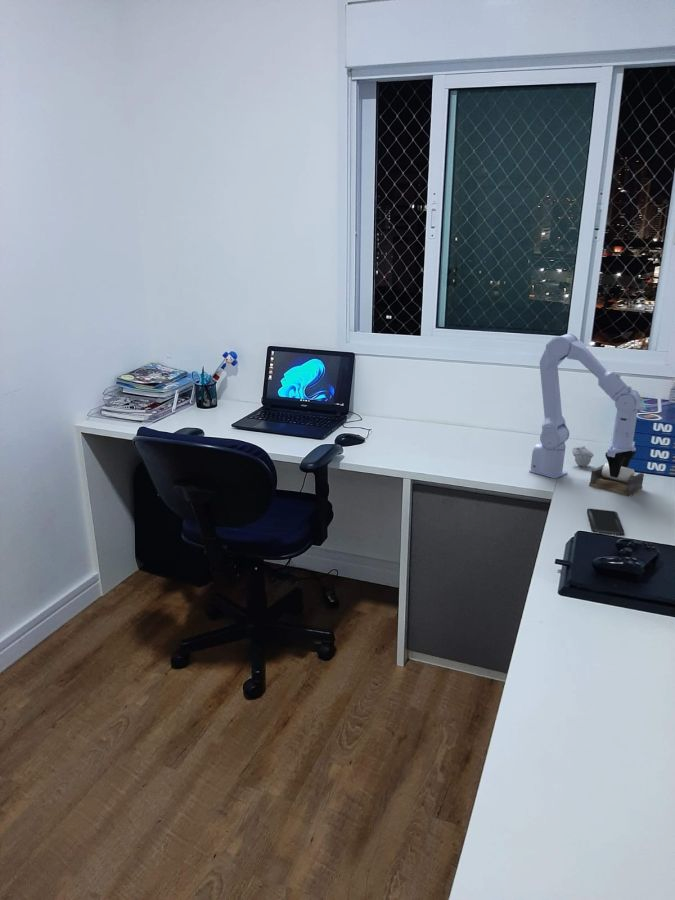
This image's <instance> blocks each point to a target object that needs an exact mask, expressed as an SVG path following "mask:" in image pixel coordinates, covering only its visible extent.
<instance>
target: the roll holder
mask: <svg viewBox="0 0 675 900" xmlns="http://www.w3.org/2000/svg"><path fill="white" fill-rule="evenodd" d="M604 465H605V464H602V465H600V466H598V467H596V468H594V469H592V470H591V474H590V480H589V481H590V482H589V483H588V485H589V487H592V488H597V489H600V490H603V489H604V491H607V492H612V493H615V494H618V493H619V494H618V495H622V494H623V495H622V496H625V495H626V497H629V496H630V497H632V496H633V495H635V494H637V493H638V491H639V490H640V491H642V490H643V481H644V476H645V475H644V474H645V473H642V472H640V473H638V474H635V475H634V477H632V478H630V479H628V483H625V482H622V481H618V480H614V479H610V478H606V477H603V476H602V469H603V466H604ZM641 489H642V490H641ZM640 491H639V492H640ZM636 492H637V493H636ZM634 493H635V494H634ZM631 495H632V496H631Z"/></svg>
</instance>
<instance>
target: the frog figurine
mask: <svg viewBox="0 0 675 900" xmlns="http://www.w3.org/2000/svg"><path fill="white" fill-rule="evenodd" d="M571 452H572V455H573V457H574V462H575V464H576V465H578V466H579V467H582V466H584V467H587V466H588V465H590V463H591V460H592V459H593V457H594V452H592V451H591V450H589V449H588V448H587V447H586V446H585V445H582V444H578V445H577V446H574V447H572V451H571Z"/></svg>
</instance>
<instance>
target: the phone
mask: <svg viewBox="0 0 675 900" xmlns="http://www.w3.org/2000/svg"><path fill="white" fill-rule="evenodd" d="M586 515H587V519H588V518H589V519H588V523H589V522H590V523H589V527H590V530H591V532H592V533H595V532H599V533H598V534H603V533H604V535H612V534H614V535H613V536H624V535H625V530H624V526H623V525H622V522H621V519H620V516H619V513H618V512H617V511H614V510H607V509H606V510H605V509H597V508H587V509H586ZM615 534H616V535H615Z"/></svg>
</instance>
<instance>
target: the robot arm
mask: <svg viewBox="0 0 675 900" xmlns="http://www.w3.org/2000/svg"><path fill="white" fill-rule="evenodd" d="M565 359H568V360H574V361H578V362H579V363H580V364H582V365H583V366H584V367H585V368H586V369H587V370H588V371H589V372H590V373H591V374H593V376H595V377H596V379H598V380H597V383H598V384H597V385H598V386H599V387H600V388H601V390H603V392H604V393H605V394H606V395H607V397H609V398H610V399H611V400H612V401H614V406H615V408H616V413H615V419H614V424H613V425H614V427H613V433H612V438H611V444H610V445H609V448H608V449H607V452H605V458H606V461H607V463H608V464H609V471H610V476H612V477H616V478H617V477H618V475H619V473H620V469H621V466H622V467H626V468H629V465H630V463H631V460H632V459H633V458H634V456H635V455H636V451H637V448H636V447H635V446H636V445H635V444H636V441H634V437H635V433H636V432H635V430H636V425H637V420H638V419H637V415H638V407H639V406H640V405H641V403H642V397H641V394H639V391H637V390H635V389H633V387H632V386H630V385H627V384H626V382H624V380H623V379H622V378H621V376H622V375H621V374H620V373H619V372H617V373H616V372H615V371H608V370H607V369H606V368H605V367H604V365H602V363H601V362H600V361H599V360H598V359H597V357H596V356H594V354H593V353H592V352H591V351H590V350H589V349H588V348H587V346H586V345H585V344H584V342H583V341H581V340H580V339H578V337H577V336H576V335H575V334H573V333H566V334H563V335H560V336H559V335H557V336H554V337H552V339H551V340H549V342H547V343H546V344H545V349H544V351H543V354H542V355H541V358H540V360H539V371H540V373H539V374H540V383H541V384H540V385H541V394H542V404H543V413H544V414H543V415H544V419H543V422H542V425H541V433H540V436H539V441H540V443H537V444H535V445H534V447H533V449H532V453H531V461H530V469H529V472H530V473H533V474H538V475H540V476H543V477H547V478H548V477H549V478H552V479H558V478H560V477H562V476H565V475H567V474H568V473H569V472H568V471H565V470H564V463H565V462H564V461H565V453H566V441H568V439H570V430H569V428H568V427H567V424H566V419H565V418H564V416H563V412H562V401H561V392H560V380H559V379H560V377H559V369H558V368H559V366H560V364H561V363H562V362H563V361H564V360H565Z"/></svg>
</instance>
